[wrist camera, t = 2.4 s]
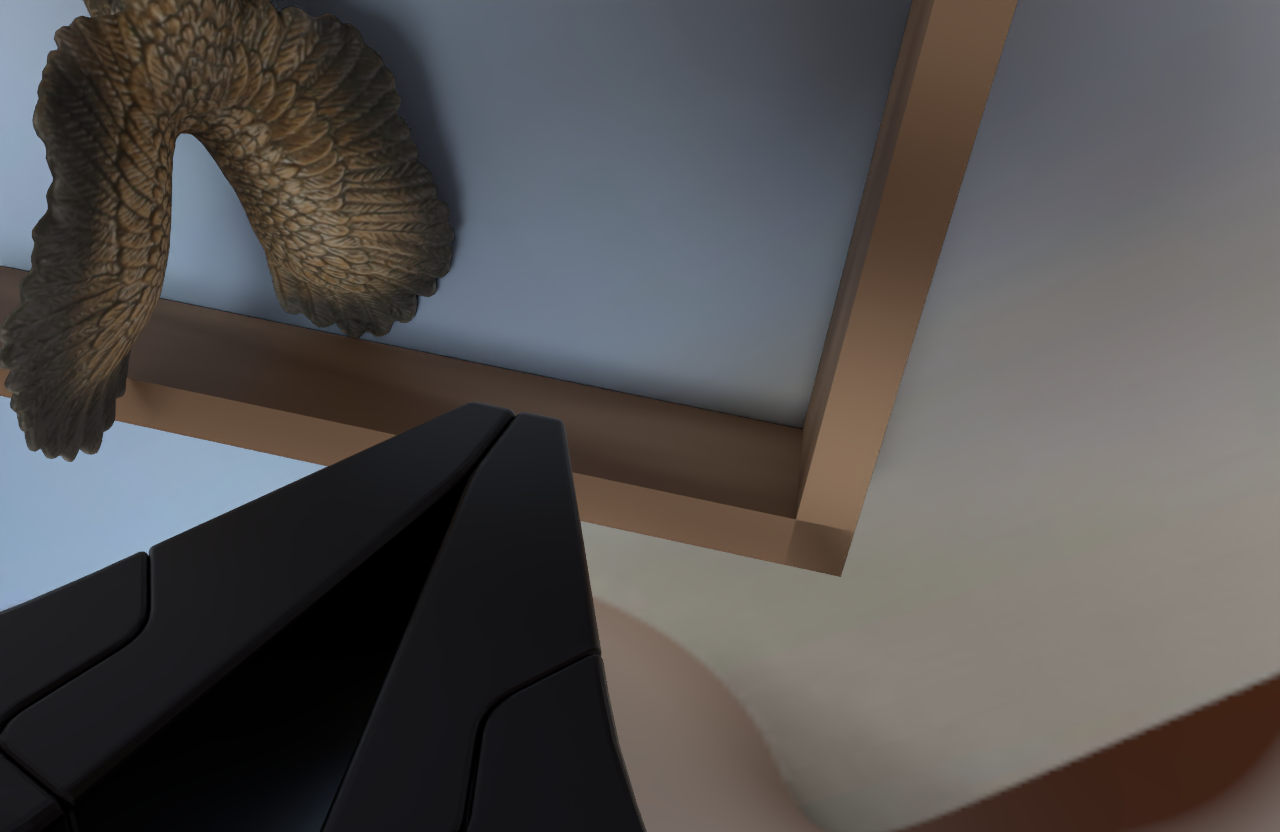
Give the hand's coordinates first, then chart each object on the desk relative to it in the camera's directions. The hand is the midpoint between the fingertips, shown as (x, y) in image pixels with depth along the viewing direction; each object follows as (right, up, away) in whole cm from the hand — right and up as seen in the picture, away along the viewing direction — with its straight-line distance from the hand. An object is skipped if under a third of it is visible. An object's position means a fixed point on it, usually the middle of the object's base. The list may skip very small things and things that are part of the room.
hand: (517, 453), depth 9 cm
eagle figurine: (-6, +6, +10) cm, 13 cm away
